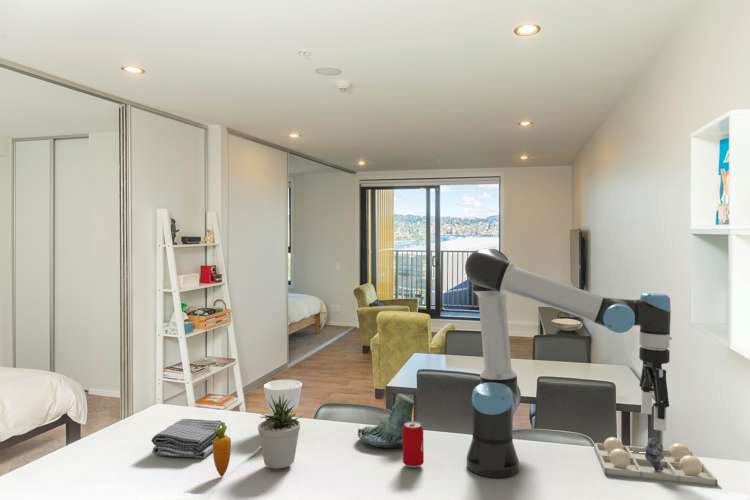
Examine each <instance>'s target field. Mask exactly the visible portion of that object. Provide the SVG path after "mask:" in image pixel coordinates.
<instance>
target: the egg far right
mask: <svg viewBox="0 0 750 500" xmlns="http://www.w3.org/2000/svg"><path fill="white" fill-rule="evenodd" d="M668 450H669V452H670V455H671V457H672V458H673V459H674V460H675V461H677V462H680V459H681V458H682V457H683V456H686V455H691V454H690V452H691V451H690V449H689V448H688V446H687V445H686V444H683V443H679V442H675V443H672V445H670V447H669V449H668Z"/></svg>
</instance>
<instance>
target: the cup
mask: <svg viewBox="0 0 750 500" xmlns="http://www.w3.org/2000/svg"><path fill="white" fill-rule="evenodd" d="M302 386H303V383H302V382H301V381H299V380H295V379H278V380H277V379H276V380H272V381H268V382H267V383H264V385H263V391H264V395H265V399H266V405H267V408H268V409H269V411H270V412H271V413H274V412H273V410H272V408H273V409H274V411H275V407H274V404H273V401H272V398H273V400H274V402H275V400H276V402H278V403H279V396H280V397H281V407H282V400H283V393H284V400H283V403H284V402H285V401H286V400H287V399H288V400H287V401H286V403H285V404H286V405H287V404H288V403H289V401H290V403H289V404H288V405H287V407H288V409H290V408H292V407H293V406H294V407H293V408H292V410H291V411H290V413H293V412H294V411H296V409H297V407H298V405H299V402H300V395H301V392H302ZM271 395H272V397H271ZM268 401H269V403H270V405H271V406H272V408H271V407H270V405H269V403H268ZM276 402H275V403H276ZM286 405H285V406H286ZM285 406H284V408H285ZM287 407H286V410H285V411H287ZM292 411H293V412H292ZM275 412H276V411H275ZM288 416H290V414H289V415H288Z"/></svg>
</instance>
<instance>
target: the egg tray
mask: <svg viewBox="0 0 750 500" xmlns="http://www.w3.org/2000/svg"><path fill="white" fill-rule="evenodd" d="M645 447H646V446H645ZM645 447H643V446H641V447H640V446H633V445H623V450H624V451H626V452H627V453H628V455H629V457H630V464H629V466H628V467H626V468H624V469H620V468H617V467H615V466H614V465H613V464H612V463H611V461H610V454H608V453H607V452H606V450H605V448H604V443H601V442H593V450H594V452H595V455H596V457H597V459H598V462H599V465H600V467H601V469H602V472H603V475H605V476H610V477H611V476H612V477H621V478H630V479H639V480H651V481H661V482H662V481H663V482H671V483H683V484H692V485H693V484H694V485H702V486H703V485H705V486H713V487H718V478H717V477H715V476H714V475H713V473H712V472H711V471H710V470H709V468H707V466H706V465H705V464H704V462H702V461H701V460H700V459H699V457H698V456H697V455H696V454H695V453H694V452H693V451H690V454H691V456H694V457H696V458H697V459H698V460H699V461H700V462H701V465H702V471H701V473H700V474H699V475H697V476H689V475H687V474H685V473H684V472H683V471H682V470H681V468H680V465H679V462H677V461H675V460H674V459H673V458H672V457H671V455H670V452H669V450H670V449H665V448H663V451H664V452H665V457H664V458H663V459H662V460H661V461H660V463H661V464H662V465H663V469H664V470H662V471H660V472H658V473H657V472H656V471H655V469H654V467H653V466H652V464H651V463H650V461H648V460H647V459H646V457H645V454H646V453H639V452H646V451H645ZM630 451H633V452H630Z"/></svg>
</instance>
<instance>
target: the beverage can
mask: <svg viewBox="0 0 750 500" xmlns="http://www.w3.org/2000/svg"><path fill="white" fill-rule="evenodd" d="M422 425H423V424H422V423H421V422H419V421H416V420H415V421H413V420H412V421H409V422H406V423H405V424H404V427H403V447H402V463H403V464H404V465H405V466H406V467H408V468H419V467H421V466H422V465H423V464H424V460H425V459H424V457H425V456H424V451H425V450H424V449H425V448H424V428H423V426H422Z"/></svg>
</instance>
